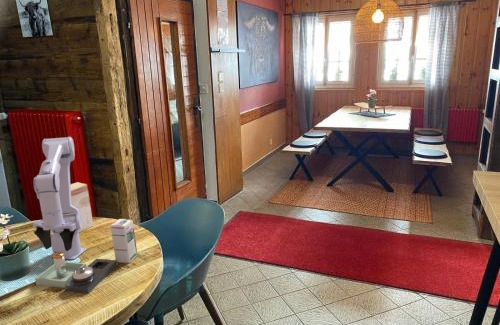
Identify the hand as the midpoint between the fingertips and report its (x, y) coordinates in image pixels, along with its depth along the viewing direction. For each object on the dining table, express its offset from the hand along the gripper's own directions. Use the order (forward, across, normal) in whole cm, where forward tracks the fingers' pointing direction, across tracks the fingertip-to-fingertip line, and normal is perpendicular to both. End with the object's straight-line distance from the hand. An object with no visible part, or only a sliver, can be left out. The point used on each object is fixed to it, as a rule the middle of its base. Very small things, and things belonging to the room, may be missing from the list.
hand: (58, 248), depth 126 cm
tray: (+10, 0, 0) cm, 10 cm away
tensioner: (+10, +10, +1) cm, 15 cm away
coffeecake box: (+11, -20, +32) cm, 39 cm away
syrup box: (+11, +15, +14) cm, 24 cm away
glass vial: (+10, 0, 0) cm, 10 cm away
